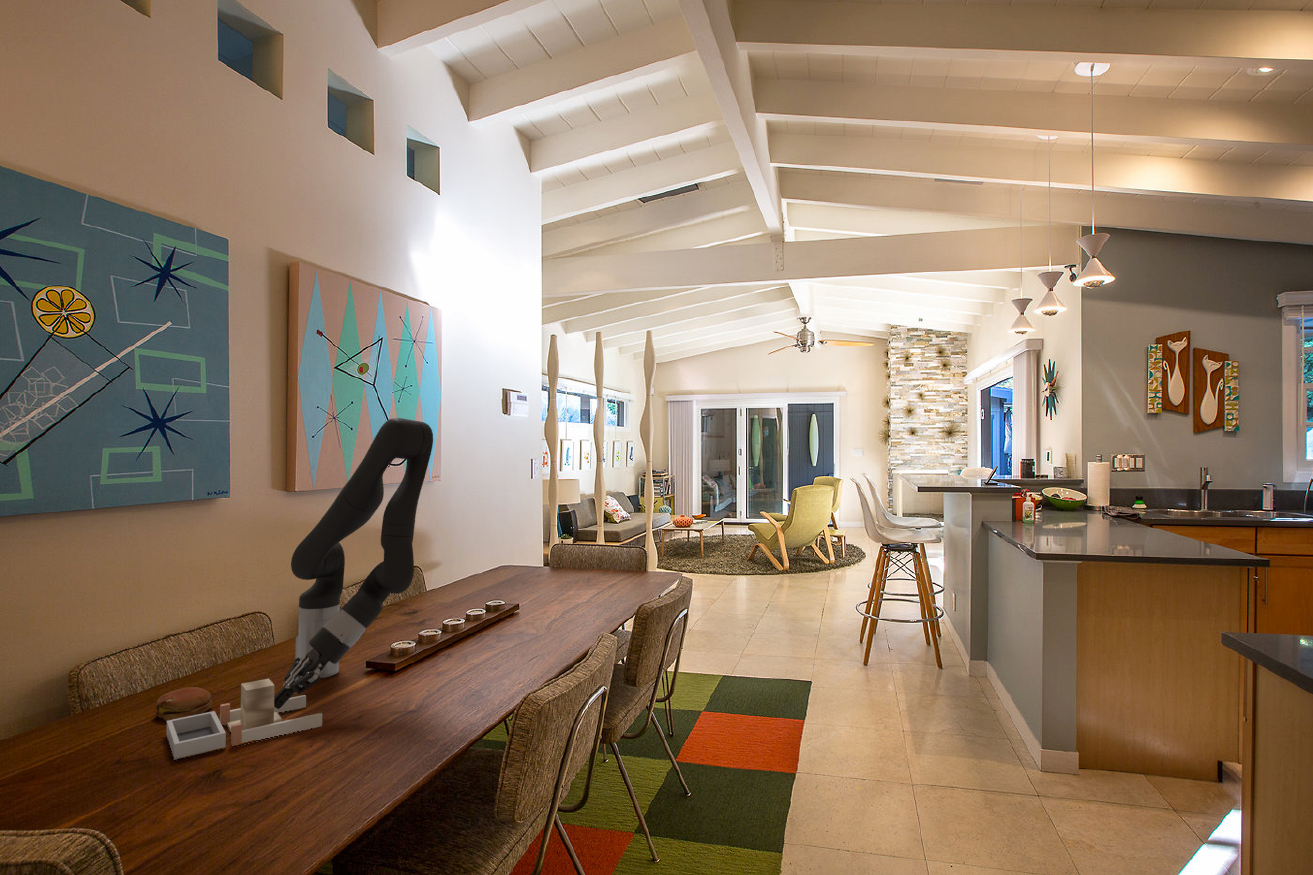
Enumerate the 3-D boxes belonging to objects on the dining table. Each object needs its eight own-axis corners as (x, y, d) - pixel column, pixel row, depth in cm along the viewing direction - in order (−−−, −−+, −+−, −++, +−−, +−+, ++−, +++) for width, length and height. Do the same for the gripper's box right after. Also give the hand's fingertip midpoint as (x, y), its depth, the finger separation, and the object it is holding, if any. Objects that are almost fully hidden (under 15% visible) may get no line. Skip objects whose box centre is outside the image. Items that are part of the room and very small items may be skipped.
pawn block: (276, 717, 147) (277, 673, 147) (287, 731, 140) (287, 685, 140) (227, 728, 141) (227, 683, 141) (235, 743, 134) (236, 695, 134)
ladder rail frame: (304, 705, 153) (305, 687, 153) (322, 726, 142) (322, 706, 142) (219, 724, 143) (220, 704, 143) (231, 747, 132) (232, 726, 132)
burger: (218, 703, 154) (218, 682, 154) (199, 720, 145) (199, 698, 145) (168, 706, 152) (169, 685, 152) (146, 723, 143) (146, 701, 143)
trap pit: (214, 725, 142) (214, 711, 142) (225, 748, 131) (225, 732, 131) (166, 736, 137) (166, 720, 137) (174, 760, 126) (174, 744, 126)
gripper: (316, 619, 154) (252, 686, 146) (334, 632, 144) (266, 705, 136) (341, 639, 157) (280, 706, 150) (360, 653, 147) (295, 725, 139)
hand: (274, 705), depth 143 cm, fingers closed
